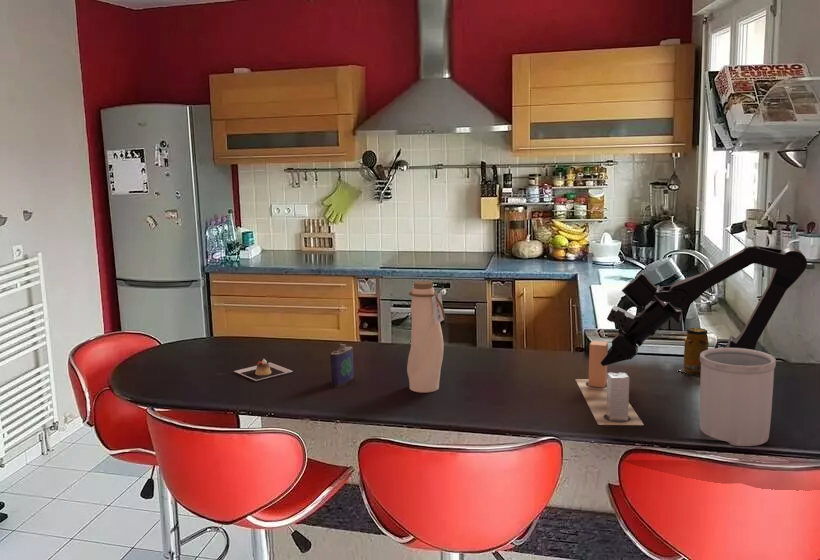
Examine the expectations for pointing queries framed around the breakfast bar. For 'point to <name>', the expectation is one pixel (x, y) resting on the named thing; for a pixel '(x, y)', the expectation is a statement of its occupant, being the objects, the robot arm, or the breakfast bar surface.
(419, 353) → the water bottle
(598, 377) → the marker post
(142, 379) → the breakfast bar surface
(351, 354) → the flask
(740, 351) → the utensil holder
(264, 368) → the dessert
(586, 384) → the template board
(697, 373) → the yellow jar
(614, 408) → the fixed post
